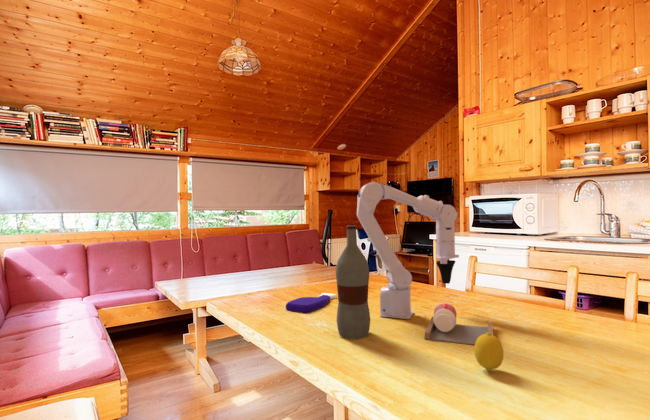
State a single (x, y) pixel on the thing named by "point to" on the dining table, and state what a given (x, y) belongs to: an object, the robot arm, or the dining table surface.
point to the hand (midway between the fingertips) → (446, 283)
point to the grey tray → (457, 333)
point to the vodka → (352, 290)
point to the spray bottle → (309, 303)
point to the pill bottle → (444, 317)
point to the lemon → (488, 351)
